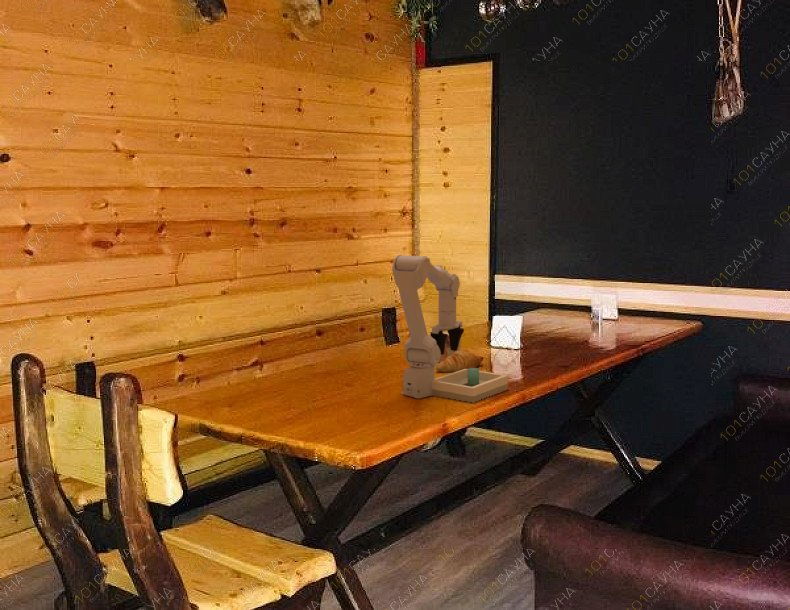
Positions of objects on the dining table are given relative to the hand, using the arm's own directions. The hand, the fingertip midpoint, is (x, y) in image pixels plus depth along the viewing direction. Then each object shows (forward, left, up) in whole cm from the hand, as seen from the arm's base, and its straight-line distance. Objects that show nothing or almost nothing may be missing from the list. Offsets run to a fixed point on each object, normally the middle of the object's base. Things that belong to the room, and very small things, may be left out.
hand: (447, 352), depth 267 cm
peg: (-2, -14, -10) cm, 17 cm away
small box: (+21, +22, -10) cm, 32 cm away
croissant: (+17, +12, -10) cm, 23 cm away
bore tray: (-4, -14, -10) cm, 18 cm away
